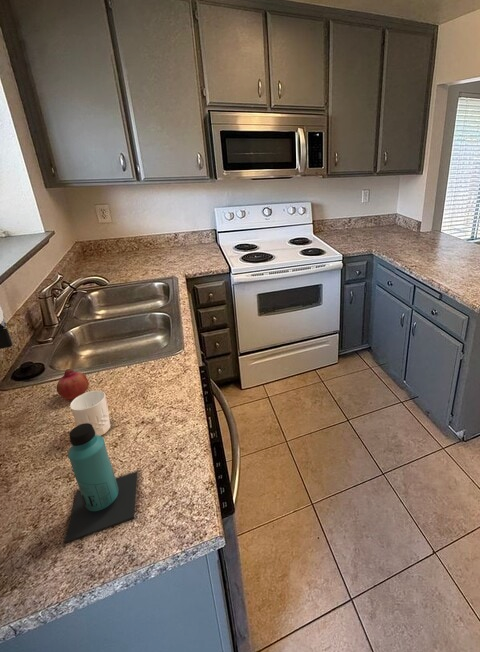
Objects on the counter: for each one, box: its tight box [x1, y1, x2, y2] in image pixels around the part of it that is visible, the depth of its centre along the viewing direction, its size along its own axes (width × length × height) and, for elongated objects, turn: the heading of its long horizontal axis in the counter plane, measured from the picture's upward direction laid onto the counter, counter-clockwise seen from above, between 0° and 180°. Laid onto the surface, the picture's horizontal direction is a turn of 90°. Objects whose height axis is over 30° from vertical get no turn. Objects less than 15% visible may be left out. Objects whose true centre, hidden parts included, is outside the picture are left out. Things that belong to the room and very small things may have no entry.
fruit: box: [56, 368, 90, 400], centre depth 109 cm, size 8×8×10 cm
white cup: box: [69, 389, 111, 436], centre depth 95 cm, size 8×8×10 cm
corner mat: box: [64, 471, 138, 544], centre depth 76 cm, size 12×12×1 cm
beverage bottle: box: [67, 423, 119, 511], centre depth 73 cm, size 6×7×20 cm
